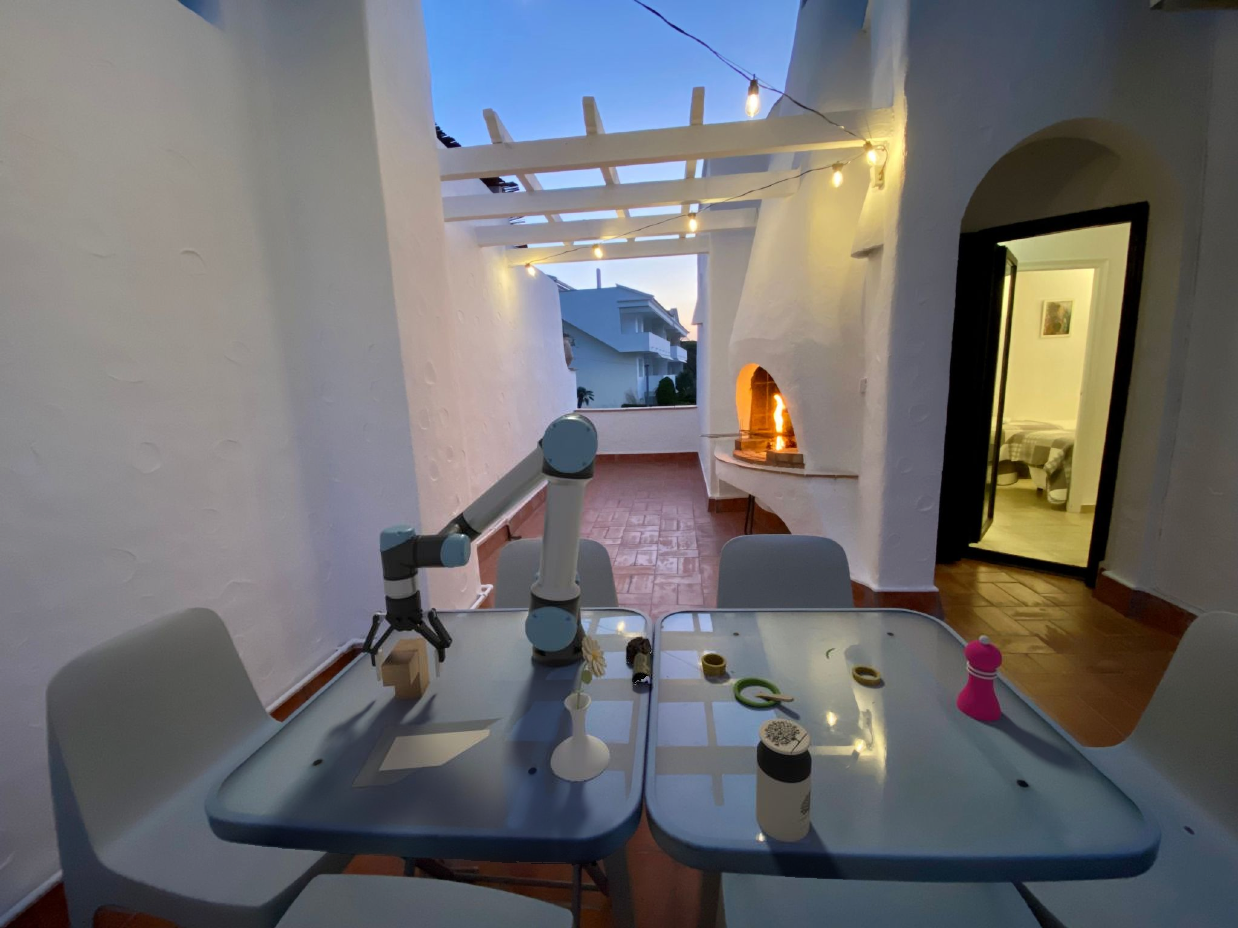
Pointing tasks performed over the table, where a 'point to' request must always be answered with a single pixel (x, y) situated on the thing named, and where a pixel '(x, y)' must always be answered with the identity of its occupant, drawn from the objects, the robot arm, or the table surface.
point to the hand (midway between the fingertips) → (410, 675)
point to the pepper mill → (981, 681)
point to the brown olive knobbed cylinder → (639, 658)
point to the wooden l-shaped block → (407, 668)
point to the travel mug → (783, 780)
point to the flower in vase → (582, 726)
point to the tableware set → (717, 664)
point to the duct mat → (418, 749)
